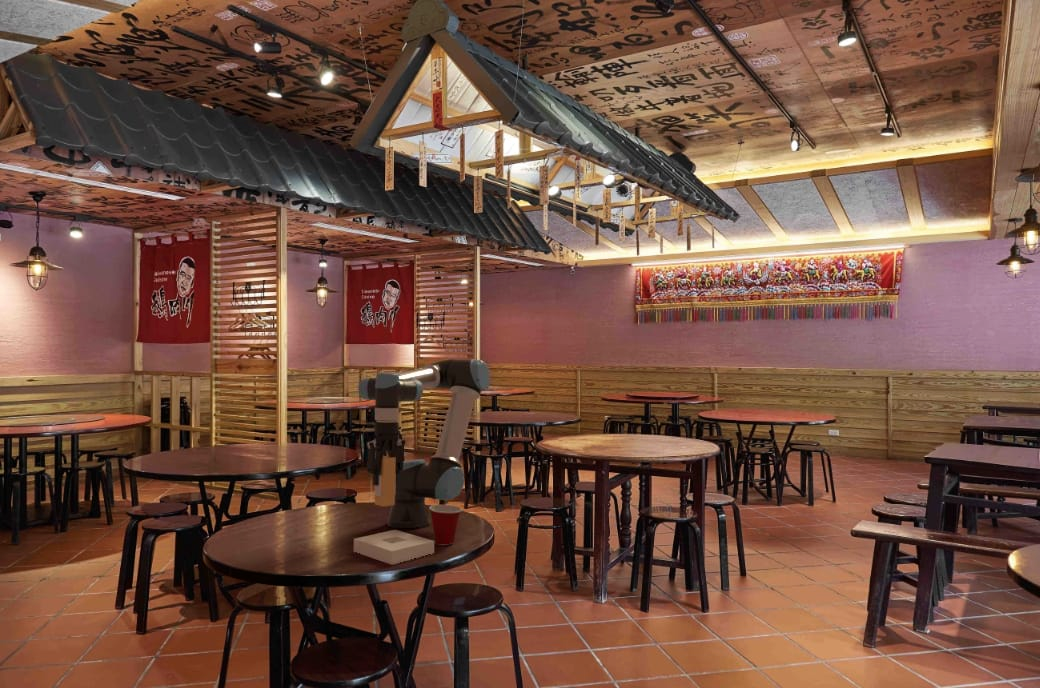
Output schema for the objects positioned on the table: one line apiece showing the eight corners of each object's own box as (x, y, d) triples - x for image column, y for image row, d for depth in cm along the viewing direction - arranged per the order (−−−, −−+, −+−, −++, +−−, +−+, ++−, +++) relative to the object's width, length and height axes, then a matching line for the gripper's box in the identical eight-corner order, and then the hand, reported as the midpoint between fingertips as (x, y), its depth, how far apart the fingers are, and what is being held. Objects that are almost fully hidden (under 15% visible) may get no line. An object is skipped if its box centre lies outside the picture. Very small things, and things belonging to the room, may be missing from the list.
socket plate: (395, 541, 234) (395, 529, 234) (434, 553, 221) (434, 540, 221) (353, 551, 223) (353, 538, 223) (392, 564, 209) (392, 551, 209)
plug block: (386, 502, 229) (387, 456, 229) (394, 504, 225) (395, 457, 226) (374, 504, 226) (375, 457, 226) (382, 506, 222) (383, 458, 223)
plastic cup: (461, 548, 227) (462, 510, 227) (427, 548, 227) (428, 510, 227) (462, 539, 238) (462, 503, 238) (429, 539, 237) (430, 503, 238)
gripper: (402, 419, 235) (401, 490, 234) (356, 421, 223) (354, 496, 222) (416, 420, 230) (414, 493, 229) (369, 423, 218) (367, 499, 217)
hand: (385, 494), depth 226 cm, fingers closed on plug block, 4 cm apart
